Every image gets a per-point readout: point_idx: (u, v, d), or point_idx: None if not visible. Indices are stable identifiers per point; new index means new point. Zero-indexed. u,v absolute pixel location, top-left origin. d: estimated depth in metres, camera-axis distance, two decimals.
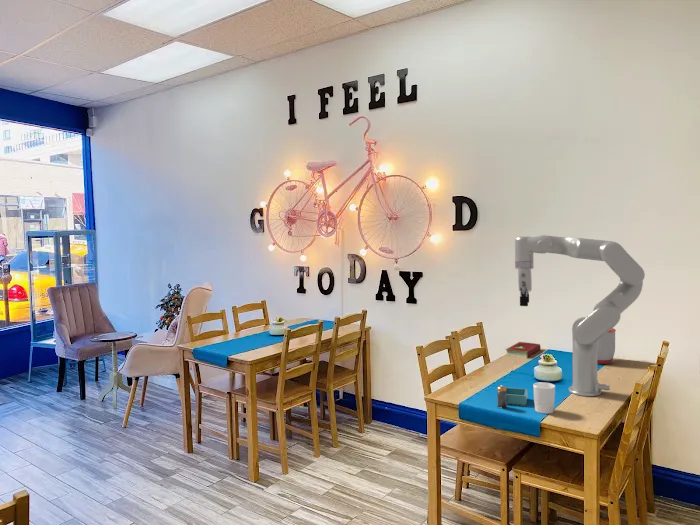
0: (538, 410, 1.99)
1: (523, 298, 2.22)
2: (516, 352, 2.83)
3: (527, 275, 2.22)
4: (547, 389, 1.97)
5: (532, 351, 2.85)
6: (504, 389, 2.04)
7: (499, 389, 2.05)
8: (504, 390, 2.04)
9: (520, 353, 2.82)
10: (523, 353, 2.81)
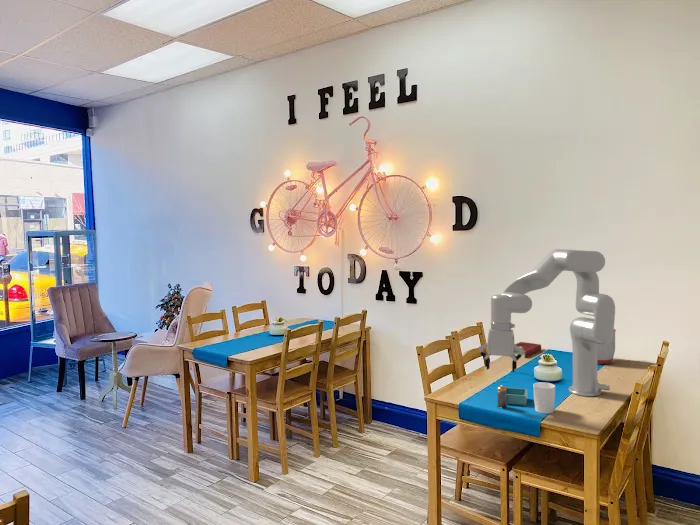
0: (538, 410, 1.99)
1: (516, 362, 2.03)
2: (514, 352, 2.84)
3: (513, 336, 2.04)
4: (547, 389, 1.97)
5: (531, 351, 2.85)
6: (504, 389, 2.04)
7: (499, 389, 2.05)
8: (504, 390, 2.04)
9: (518, 353, 2.82)
10: None
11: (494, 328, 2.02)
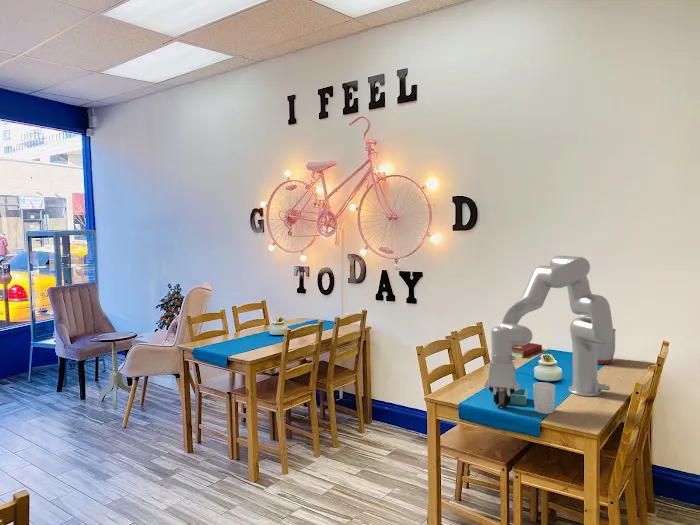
0: (538, 410, 1.99)
1: None
2: (513, 351, 2.84)
3: (514, 368, 2.05)
4: (547, 389, 1.97)
5: (530, 351, 2.85)
6: (504, 389, 2.04)
7: (499, 389, 2.05)
8: (504, 390, 2.04)
9: (516, 353, 2.83)
10: (519, 353, 2.82)
11: (495, 361, 2.03)
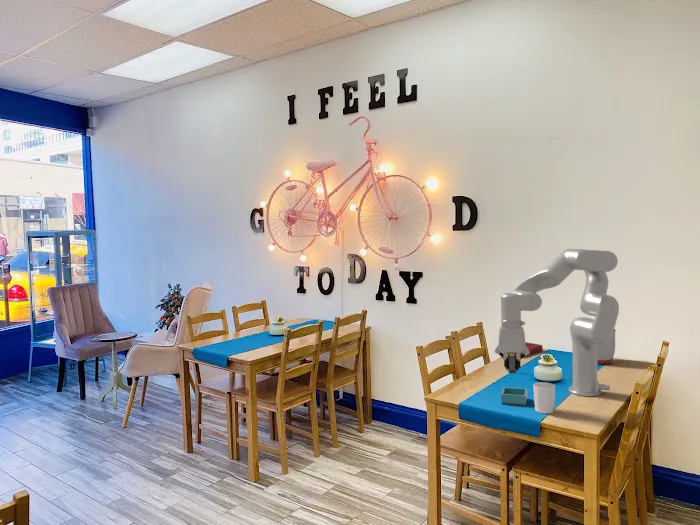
0: (538, 410, 1.99)
1: None
2: None
3: None
4: (547, 389, 1.97)
5: None
6: (514, 354, 2.09)
7: (509, 354, 2.09)
8: (514, 355, 2.09)
9: None
10: None
11: (505, 326, 2.07)
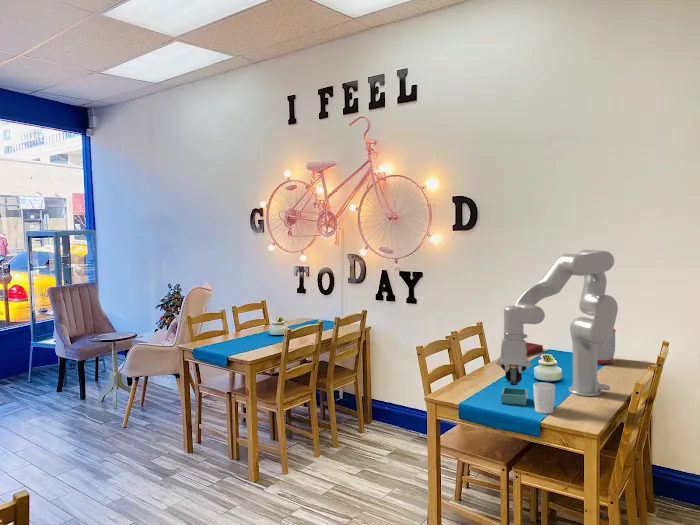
0: (538, 410, 1.99)
1: (521, 374, 2.11)
2: None
3: None
4: (547, 389, 1.97)
5: (528, 351, 2.85)
6: (516, 366, 2.10)
7: (511, 366, 2.11)
8: (516, 367, 2.10)
9: None
10: None
11: (507, 338, 2.09)
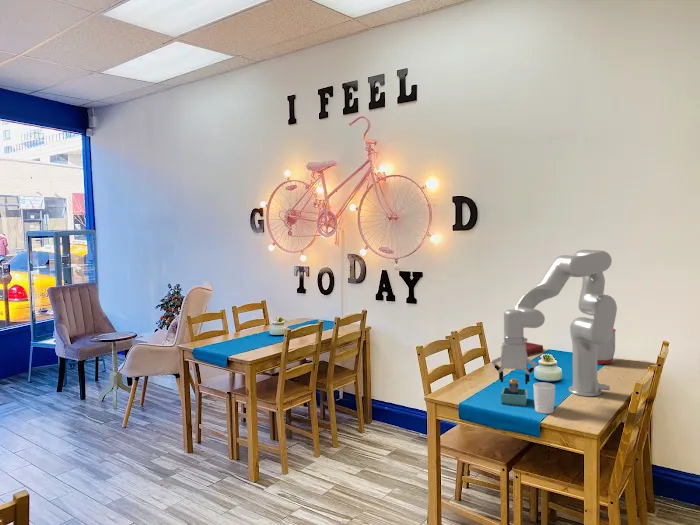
0: (538, 410, 1.99)
1: None
2: None
3: (526, 350, 2.11)
4: (547, 389, 1.97)
5: (527, 351, 2.85)
6: (516, 382, 2.11)
7: (511, 382, 2.11)
8: (516, 383, 2.11)
9: None
10: None
11: (507, 342, 2.09)
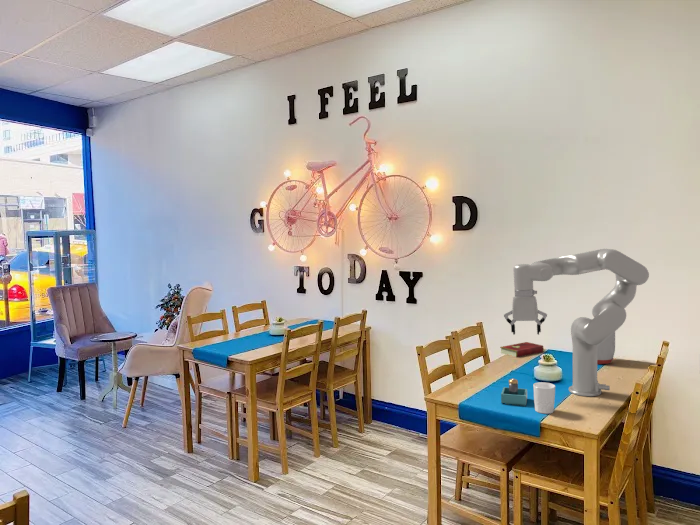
0: (538, 410, 1.99)
1: (540, 326, 2.19)
2: (508, 350, 2.87)
3: None
4: (547, 389, 1.97)
5: (526, 351, 2.85)
6: (515, 382, 2.11)
7: (511, 382, 2.11)
8: (515, 383, 2.11)
9: (511, 352, 2.85)
10: (513, 352, 2.84)
11: (518, 295, 2.18)
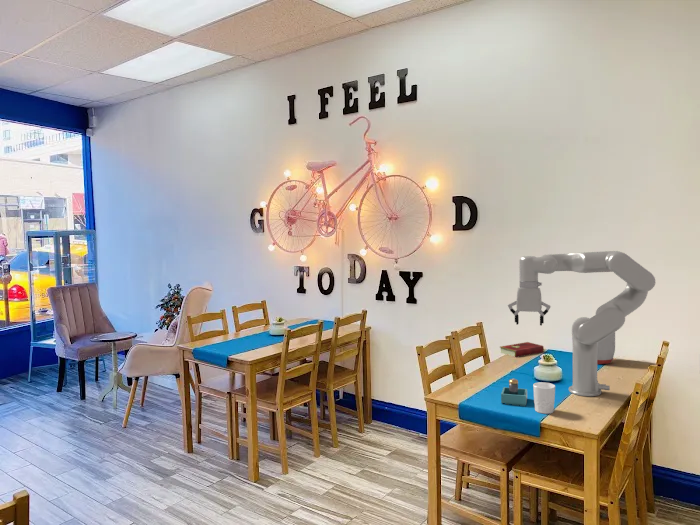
0: (538, 410, 1.99)
1: (543, 317, 2.23)
2: (507, 350, 2.87)
3: None
4: (547, 389, 1.97)
5: (526, 351, 2.85)
6: (516, 382, 2.11)
7: (511, 382, 2.11)
8: (516, 383, 2.11)
9: (510, 351, 2.85)
10: (512, 352, 2.84)
11: (523, 286, 2.23)
